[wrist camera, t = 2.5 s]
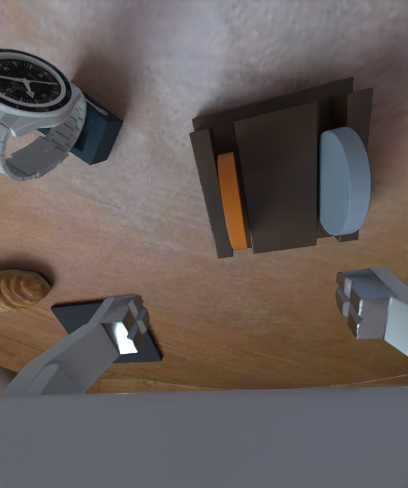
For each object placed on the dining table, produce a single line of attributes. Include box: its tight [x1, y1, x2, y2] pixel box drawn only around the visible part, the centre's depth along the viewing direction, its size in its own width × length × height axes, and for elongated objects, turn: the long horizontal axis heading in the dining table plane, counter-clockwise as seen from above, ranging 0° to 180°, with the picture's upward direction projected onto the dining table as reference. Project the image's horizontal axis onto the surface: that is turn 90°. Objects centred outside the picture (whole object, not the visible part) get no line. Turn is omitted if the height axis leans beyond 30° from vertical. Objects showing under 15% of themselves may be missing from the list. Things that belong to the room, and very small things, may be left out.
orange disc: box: [218, 152, 248, 250], centre depth 19 cm, size 8×1×8 cm, turn 13°
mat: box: [50, 300, 162, 363], centre depth 37 cm, size 14×14×1 cm
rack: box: [190, 77, 373, 258], centre depth 21 cm, size 14×13×4 cm
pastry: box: [0, 269, 51, 312], centre depth 32 cm, size 9×7×4 cm
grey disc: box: [317, 127, 371, 236], centre depth 18 cm, size 8×1×8 cm, turn 13°
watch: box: [0, 48, 123, 181], centre depth 17 cm, size 6×8×11 cm
